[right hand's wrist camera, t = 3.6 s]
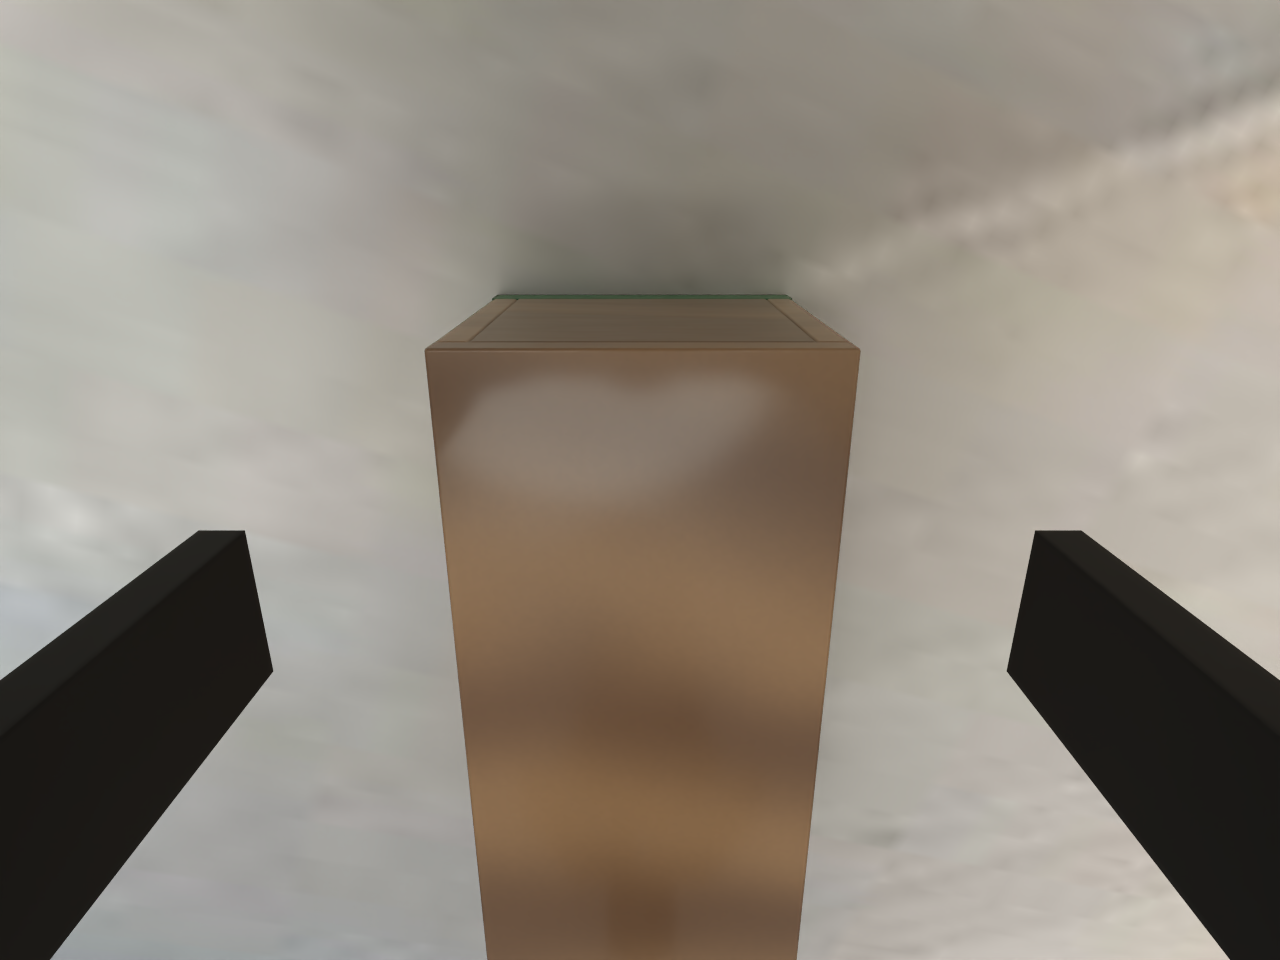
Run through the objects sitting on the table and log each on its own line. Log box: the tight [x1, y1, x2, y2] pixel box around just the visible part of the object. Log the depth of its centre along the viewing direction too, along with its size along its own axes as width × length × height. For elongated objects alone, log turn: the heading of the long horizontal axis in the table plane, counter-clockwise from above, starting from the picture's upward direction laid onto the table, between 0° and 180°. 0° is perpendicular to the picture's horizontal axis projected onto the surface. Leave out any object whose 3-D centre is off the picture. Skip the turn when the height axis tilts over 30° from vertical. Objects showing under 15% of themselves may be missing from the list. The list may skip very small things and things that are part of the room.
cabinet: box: [425, 295, 860, 960], centre depth 25 cm, size 21×10×9 cm, turn 0°
